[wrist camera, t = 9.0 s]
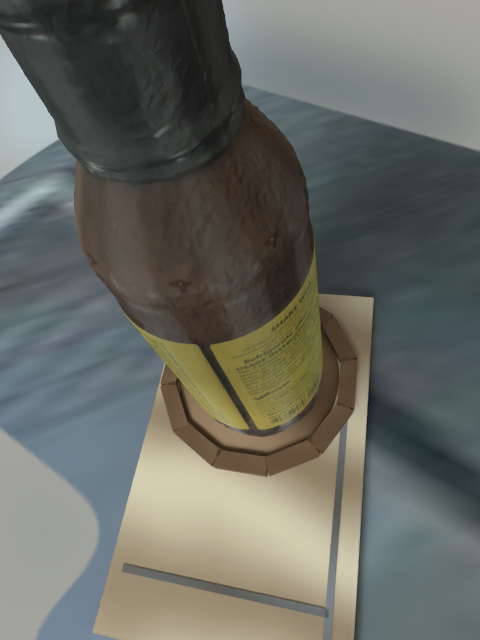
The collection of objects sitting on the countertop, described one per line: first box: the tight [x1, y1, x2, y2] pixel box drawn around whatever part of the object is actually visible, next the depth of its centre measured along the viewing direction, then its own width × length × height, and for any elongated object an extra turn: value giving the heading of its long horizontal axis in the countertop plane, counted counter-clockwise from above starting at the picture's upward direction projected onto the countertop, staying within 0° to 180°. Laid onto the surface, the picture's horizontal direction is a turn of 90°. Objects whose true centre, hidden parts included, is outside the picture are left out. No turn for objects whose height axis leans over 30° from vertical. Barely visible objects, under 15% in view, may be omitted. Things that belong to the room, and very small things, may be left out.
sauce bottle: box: [0, 0, 323, 437], centre depth 14 cm, size 6×6×20 cm
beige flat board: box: [92, 294, 374, 640], centre depth 22 cm, size 17×10×1 cm, turn 170°
